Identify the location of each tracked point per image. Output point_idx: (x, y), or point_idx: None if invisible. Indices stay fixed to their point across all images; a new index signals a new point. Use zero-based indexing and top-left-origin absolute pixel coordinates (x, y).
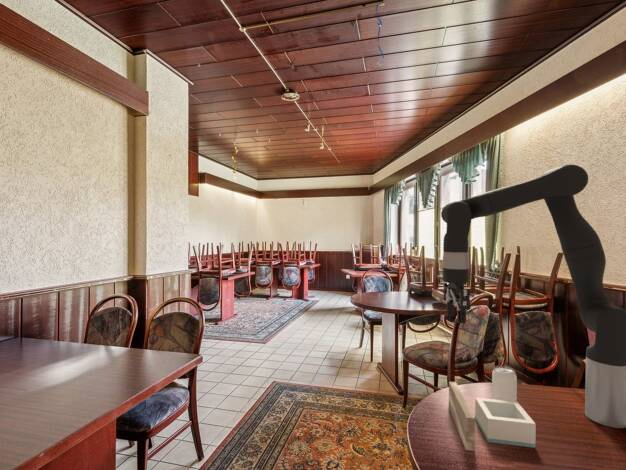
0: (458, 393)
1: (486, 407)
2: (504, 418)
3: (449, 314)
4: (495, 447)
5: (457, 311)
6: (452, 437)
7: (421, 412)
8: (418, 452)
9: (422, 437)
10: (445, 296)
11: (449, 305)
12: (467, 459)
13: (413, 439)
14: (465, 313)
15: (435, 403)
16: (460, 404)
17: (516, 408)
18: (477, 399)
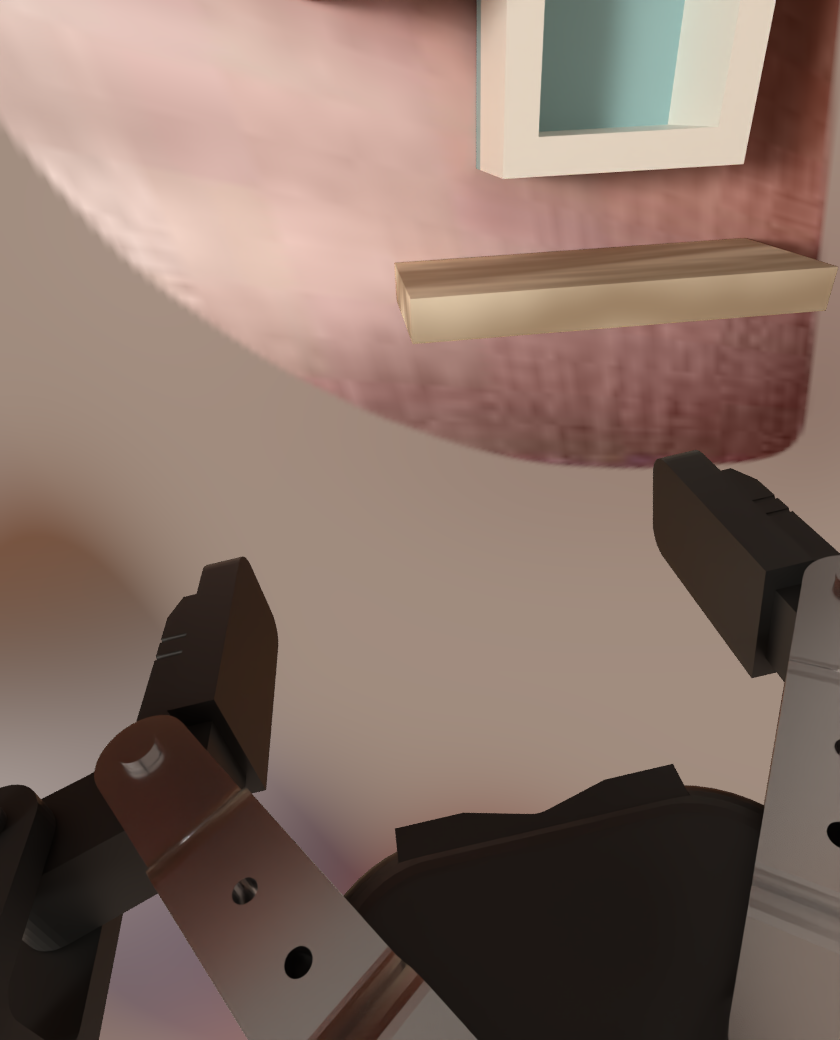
0: (571, 308)
1: (623, 135)
2: (743, 49)
3: (265, 626)
4: None
5: (743, 661)
6: None
7: (475, 431)
8: (746, 448)
9: (661, 433)
10: (105, 976)
11: (251, 751)
12: None
13: None
14: (831, 547)
15: (368, 363)
16: (699, 318)
17: None
18: (527, 170)
